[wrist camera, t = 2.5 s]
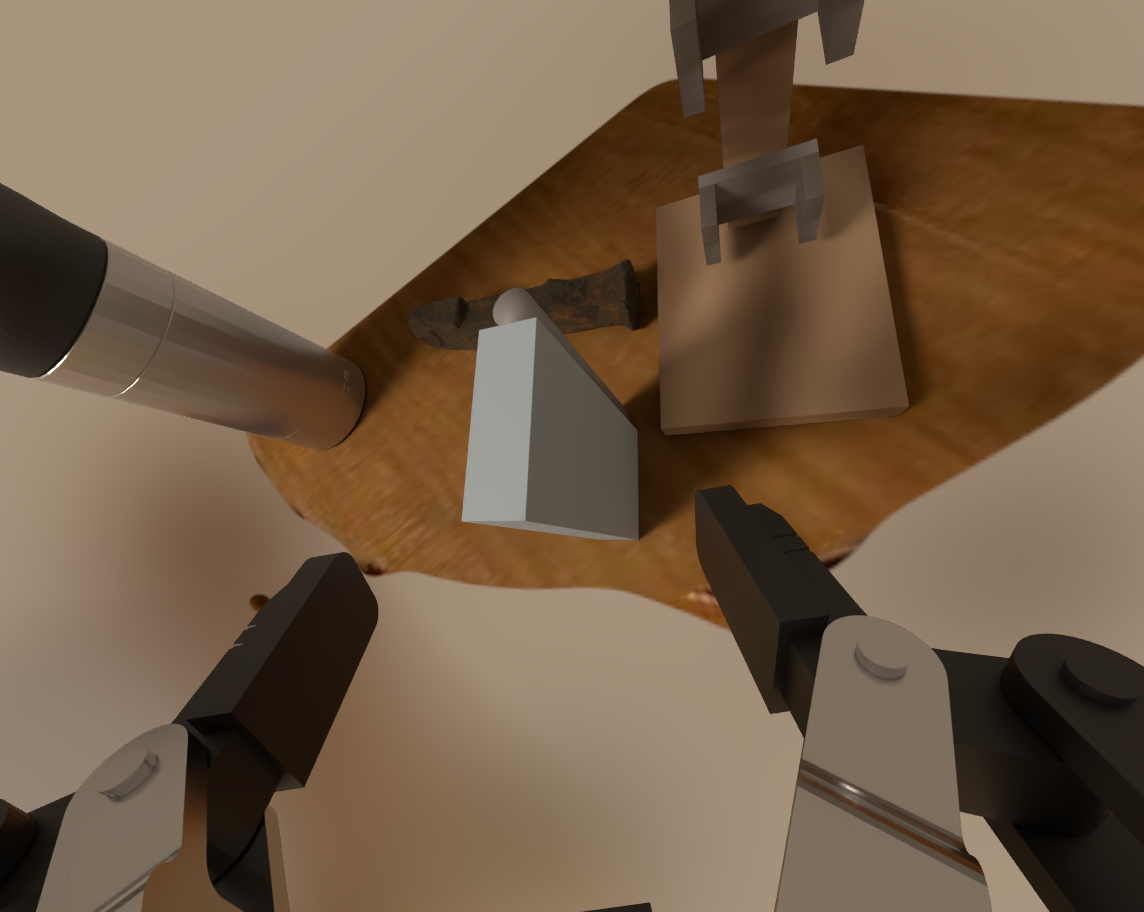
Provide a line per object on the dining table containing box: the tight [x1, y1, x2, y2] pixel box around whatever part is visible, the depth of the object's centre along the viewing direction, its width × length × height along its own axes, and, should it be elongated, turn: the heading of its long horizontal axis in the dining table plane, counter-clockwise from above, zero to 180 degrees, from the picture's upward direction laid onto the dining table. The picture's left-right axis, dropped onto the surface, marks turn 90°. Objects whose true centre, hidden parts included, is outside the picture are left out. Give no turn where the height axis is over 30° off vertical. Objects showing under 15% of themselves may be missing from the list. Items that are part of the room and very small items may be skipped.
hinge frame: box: [656, 0, 909, 436], centre depth 17 cm, size 12×16×20 cm
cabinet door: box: [462, 288, 639, 540], centre depth 20 cm, size 2×9×14 cm, turn 179°
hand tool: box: [408, 260, 640, 350], centre depth 30 cm, size 19×4×5 cm, turn 84°
